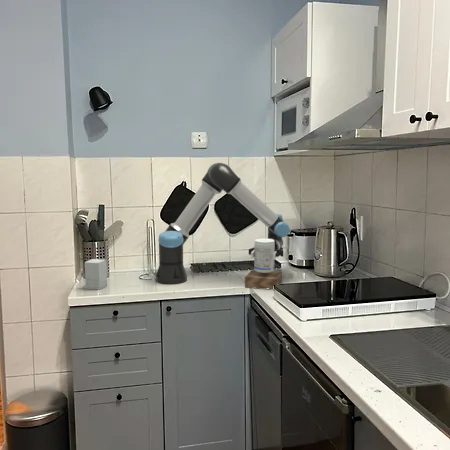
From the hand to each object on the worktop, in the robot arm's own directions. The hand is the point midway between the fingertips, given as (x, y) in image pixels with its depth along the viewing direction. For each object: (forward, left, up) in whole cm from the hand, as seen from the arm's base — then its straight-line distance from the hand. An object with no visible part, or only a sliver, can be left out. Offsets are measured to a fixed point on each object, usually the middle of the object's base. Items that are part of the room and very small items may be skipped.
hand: (262, 256), depth 215 cm
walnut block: (0, +4, -15) cm, 15 cm away
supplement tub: (0, +5, -8) cm, 9 cm away
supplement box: (-73, -23, -15) cm, 78 cm away
